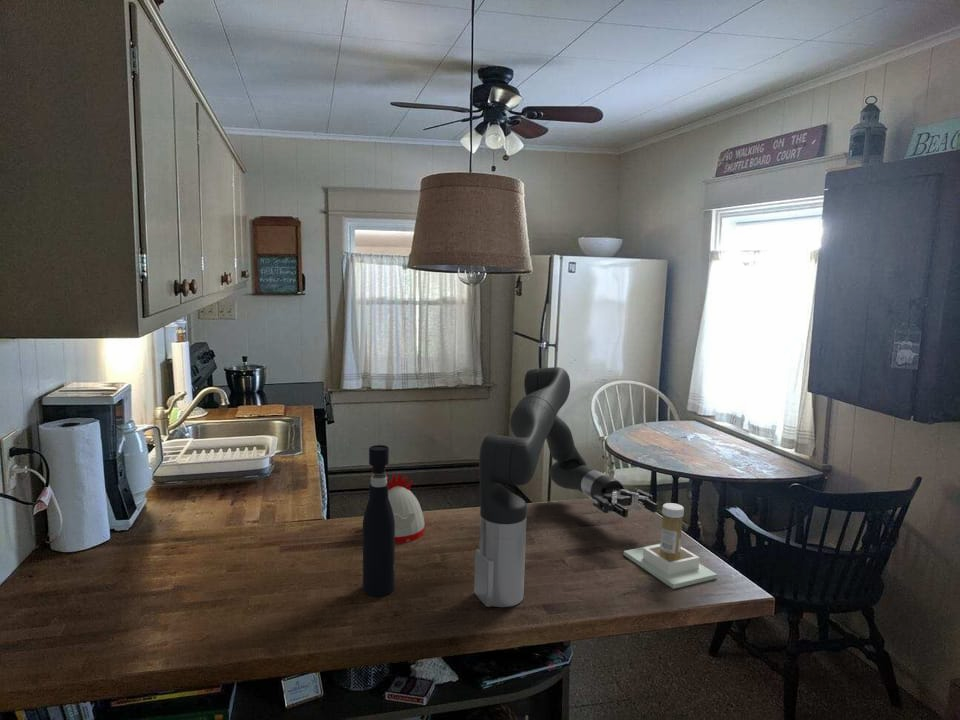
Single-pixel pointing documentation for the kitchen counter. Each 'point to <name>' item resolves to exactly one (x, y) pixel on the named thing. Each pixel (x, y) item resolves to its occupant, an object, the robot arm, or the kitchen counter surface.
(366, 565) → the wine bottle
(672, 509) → the spice jar
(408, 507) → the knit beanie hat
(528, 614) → the kitchen counter surface
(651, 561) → the socket board
